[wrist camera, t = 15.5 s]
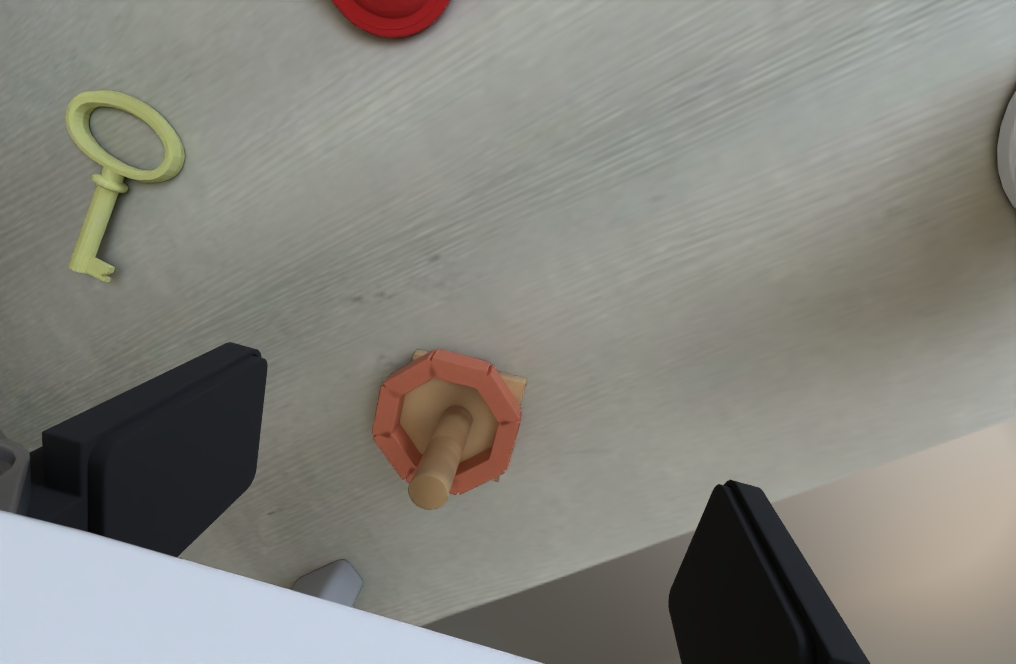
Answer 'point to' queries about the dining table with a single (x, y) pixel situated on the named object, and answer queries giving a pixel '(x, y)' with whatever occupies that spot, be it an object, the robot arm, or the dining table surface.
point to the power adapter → (332, 583)
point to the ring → (460, 372)
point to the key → (113, 170)
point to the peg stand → (447, 432)
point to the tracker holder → (391, 15)
